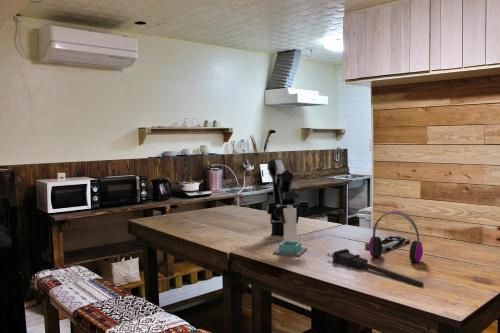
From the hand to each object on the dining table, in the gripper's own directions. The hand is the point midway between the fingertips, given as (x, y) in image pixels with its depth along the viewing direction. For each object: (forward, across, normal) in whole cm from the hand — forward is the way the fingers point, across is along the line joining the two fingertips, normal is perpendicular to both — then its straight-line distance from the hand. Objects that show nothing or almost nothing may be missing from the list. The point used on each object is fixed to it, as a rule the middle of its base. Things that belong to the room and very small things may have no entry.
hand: (290, 223), depth 186 cm
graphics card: (+8, +47, +12) cm, 49 cm away
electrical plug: (+31, +25, -12) cm, 41 cm away
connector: (+4, 0, +6) cm, 7 cm away
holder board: (+8, 0, +10) cm, 13 cm away
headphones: (+22, +40, -3) cm, 46 cm away
